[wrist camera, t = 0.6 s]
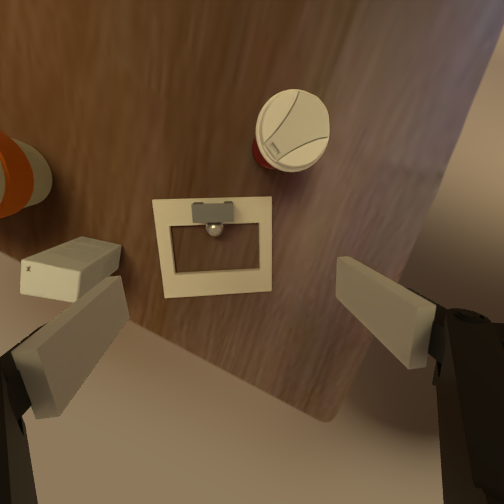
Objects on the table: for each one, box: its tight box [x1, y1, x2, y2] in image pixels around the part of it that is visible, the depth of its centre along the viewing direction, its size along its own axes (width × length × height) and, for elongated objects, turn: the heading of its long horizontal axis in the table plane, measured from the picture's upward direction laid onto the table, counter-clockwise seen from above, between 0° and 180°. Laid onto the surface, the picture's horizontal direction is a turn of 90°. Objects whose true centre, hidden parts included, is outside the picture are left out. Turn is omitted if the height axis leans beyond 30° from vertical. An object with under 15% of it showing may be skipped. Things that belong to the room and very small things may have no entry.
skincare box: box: [20, 236, 122, 303], centre depth 33 cm, size 6×4×12 cm
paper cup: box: [252, 89, 330, 172], centre depth 30 cm, size 8×8×14 cm
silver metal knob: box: [206, 222, 223, 237], centre depth 35 cm, size 5×3×3 cm, turn 1°
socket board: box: [152, 196, 272, 298], centre depth 37 cm, size 16×18×6 cm
